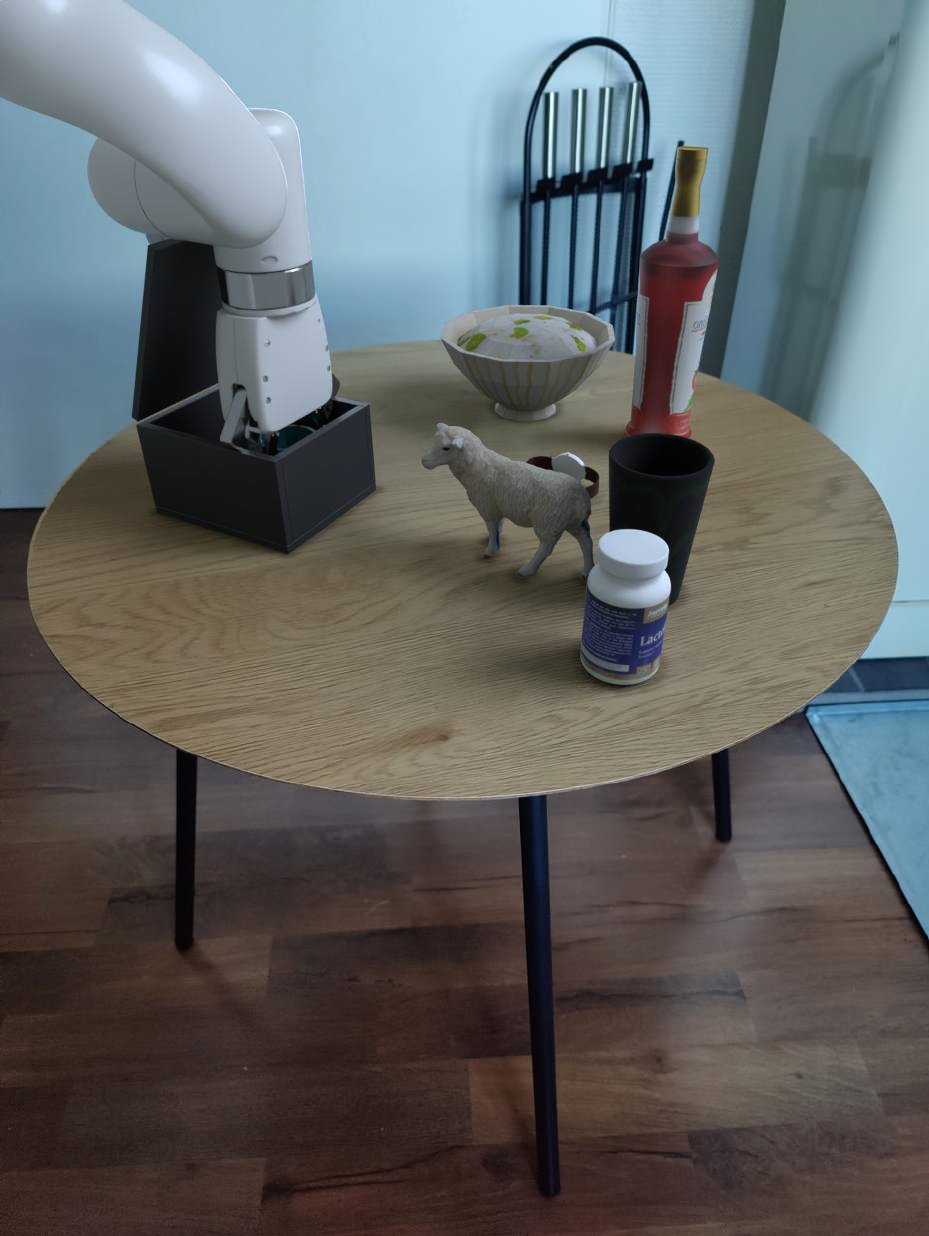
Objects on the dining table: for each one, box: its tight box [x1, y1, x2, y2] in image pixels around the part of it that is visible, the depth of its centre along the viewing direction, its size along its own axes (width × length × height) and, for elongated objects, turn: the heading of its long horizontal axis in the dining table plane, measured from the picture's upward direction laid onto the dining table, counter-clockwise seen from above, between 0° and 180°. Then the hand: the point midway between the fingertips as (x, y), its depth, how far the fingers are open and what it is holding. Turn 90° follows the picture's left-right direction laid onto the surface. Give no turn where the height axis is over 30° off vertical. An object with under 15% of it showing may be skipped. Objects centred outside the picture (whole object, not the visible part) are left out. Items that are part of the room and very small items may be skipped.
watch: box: [525, 451, 600, 500], centre depth 86 cm, size 8×5×4 cm, turn 57°
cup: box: [608, 433, 716, 607], centre depth 70 cm, size 8×8×12 cm
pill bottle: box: [579, 529, 671, 686], centre depth 63 cm, size 6×6×10 cm
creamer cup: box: [258, 425, 316, 454], centre depth 82 cm, size 5×6×6 cm
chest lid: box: [131, 234, 223, 423], centre depth 79 cm, size 16×14×5 cm
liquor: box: [624, 145, 721, 439], centre depth 88 cm, size 7×7×28 cm
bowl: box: [439, 304, 616, 422], centre depth 101 cm, size 19×19×10 cm
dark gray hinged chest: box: [135, 384, 377, 555], centre depth 84 cm, size 16×14×9 cm
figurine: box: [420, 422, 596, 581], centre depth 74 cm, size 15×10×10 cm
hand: (293, 485), depth 84 cm, fingers closed on creamer cup, 5 cm apart
